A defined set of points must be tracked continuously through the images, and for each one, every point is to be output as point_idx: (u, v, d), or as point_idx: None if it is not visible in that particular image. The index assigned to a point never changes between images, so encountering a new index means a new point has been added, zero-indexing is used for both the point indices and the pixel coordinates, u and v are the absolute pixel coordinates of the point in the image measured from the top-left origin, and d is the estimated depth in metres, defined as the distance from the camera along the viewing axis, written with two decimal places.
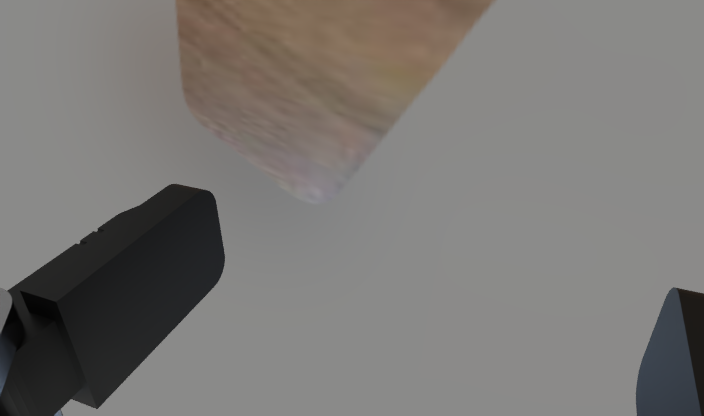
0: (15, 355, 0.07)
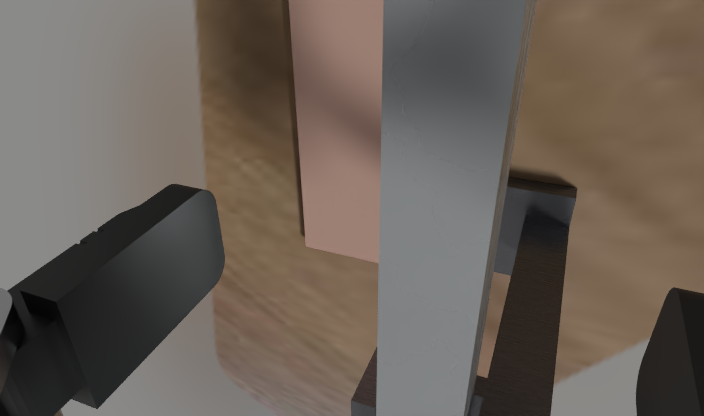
0: (15, 355, 0.07)
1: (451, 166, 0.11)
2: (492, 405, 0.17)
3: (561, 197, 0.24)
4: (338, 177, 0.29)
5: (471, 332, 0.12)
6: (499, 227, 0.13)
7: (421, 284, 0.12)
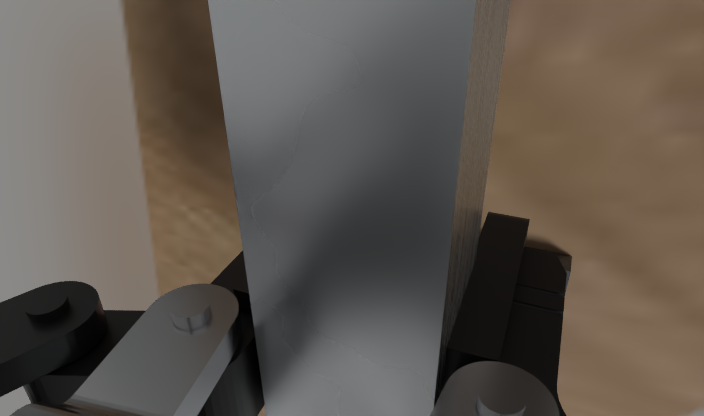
0: (241, 354, 0.07)
1: (360, 357, 0.06)
2: None
3: None
4: None
5: None
6: None
7: None
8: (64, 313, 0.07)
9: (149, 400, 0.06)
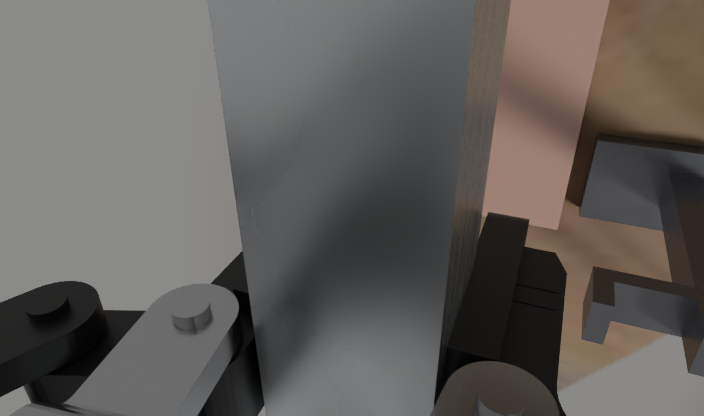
0: (242, 354, 0.07)
1: (359, 360, 0.06)
2: None
3: None
4: (492, 144, 0.33)
5: None
6: None
7: None
8: (65, 313, 0.07)
9: (149, 400, 0.06)
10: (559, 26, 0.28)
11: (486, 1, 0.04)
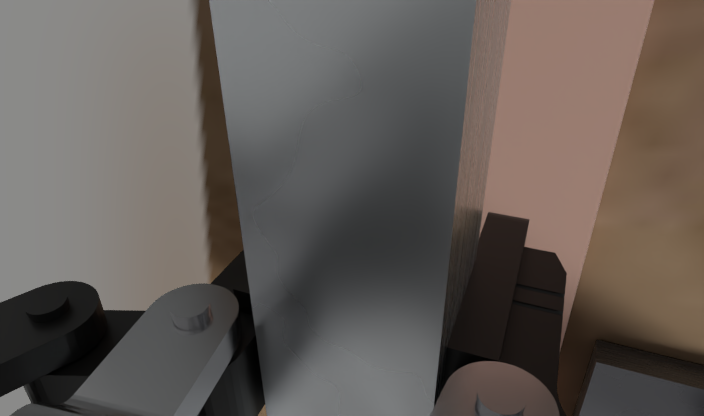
0: (241, 354, 0.07)
1: (360, 360, 0.07)
2: None
3: None
4: None
5: None
6: None
7: None
8: (64, 313, 0.07)
9: (149, 400, 0.06)
10: (521, 165, 0.14)
11: (486, 5, 0.05)
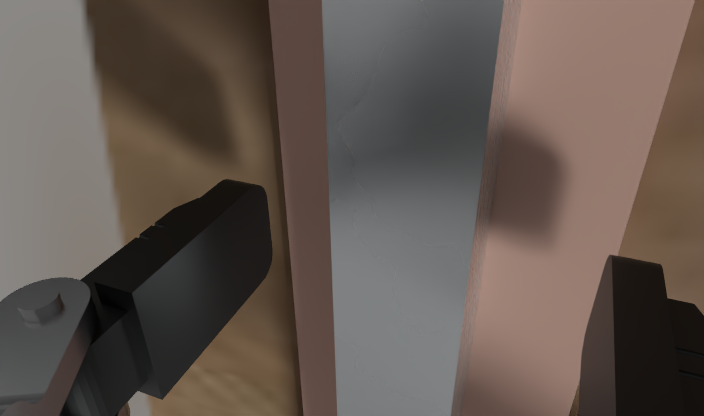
0: (94, 345, 0.07)
1: (413, 240, 0.09)
2: None
3: None
4: None
5: None
6: (478, 295, 0.11)
7: (384, 368, 0.10)
8: None
9: (16, 386, 0.06)
10: (499, 255, 0.11)
11: None
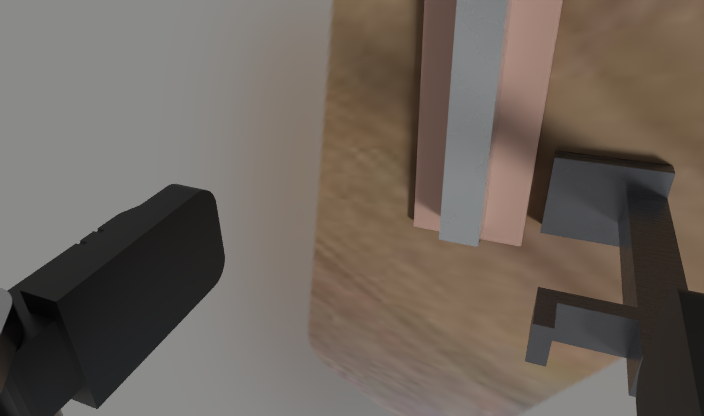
0: (15, 355, 0.07)
1: (485, 20, 0.26)
2: (648, 326, 0.20)
3: (661, 173, 0.28)
4: None
5: (492, 105, 0.28)
6: (504, 63, 0.29)
7: (470, 82, 0.28)
8: None
9: None
10: (512, 45, 0.28)
11: None
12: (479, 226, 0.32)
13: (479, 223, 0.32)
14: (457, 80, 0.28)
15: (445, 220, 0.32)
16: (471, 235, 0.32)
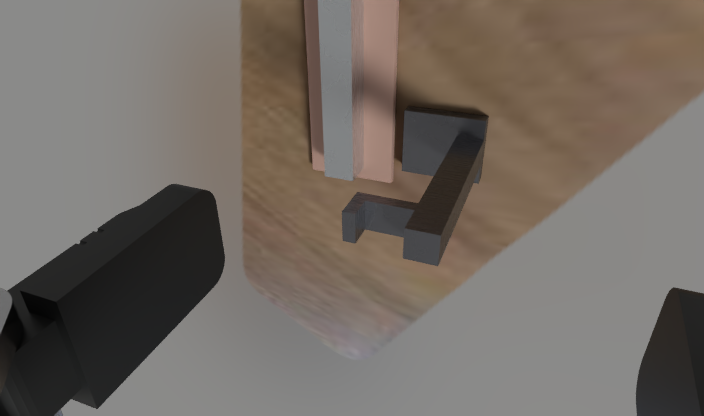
0: (15, 355, 0.07)
1: (337, 5, 0.36)
2: (419, 213, 0.30)
3: (477, 120, 0.38)
4: None
5: (350, 68, 0.38)
6: (362, 38, 0.38)
7: (333, 52, 0.37)
8: None
9: None
10: (367, 24, 0.38)
11: None
12: (352, 164, 0.41)
13: (351, 162, 0.41)
14: (324, 50, 0.38)
15: (328, 160, 0.42)
16: (347, 171, 0.42)
